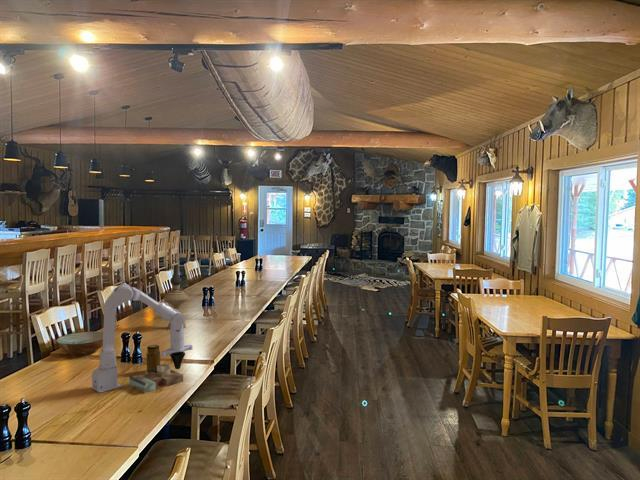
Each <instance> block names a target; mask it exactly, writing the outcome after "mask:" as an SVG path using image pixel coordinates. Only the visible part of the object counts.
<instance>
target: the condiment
mask: <svg viewBox="0 0 640 480" xmlns="http://www.w3.org/2000/svg"><path fill="white" fill-rule="evenodd" d="M146 348H147V349H146V351H147V352H146V370H145V372H144V374H148V373H152V372H154V373H156V374H157V366H158V365H161V351H160V345H158V344H149V345H148V346H147V347H146ZM144 374H143V375H144Z"/></svg>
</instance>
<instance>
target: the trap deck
mask: <svg viewBox="0 0 640 480" xmlns="http://www.w3.org/2000/svg"><path fill="white" fill-rule="evenodd" d="M128 377H129V378H128V379H129V381H128V382H129V385H128V386H130V387H131V388H133V389H136V390H138V391H140V392H142V393H143V394H146V393H150V392H153V391H157V390H160V389H163V388H165V387H169V386H173V385H175V384H179V383H182V382H184V374H182V373H179V372H177V371H175V370H173V369H170V375H167V376H163V377H161V376H159V375H157V373H154V372H152V373H148V374H141V375H138V376H137V375H136V376H133V375H129V376H128Z"/></svg>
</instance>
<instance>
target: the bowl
mask: <svg viewBox="0 0 640 480" xmlns="http://www.w3.org/2000/svg"><path fill="white" fill-rule="evenodd" d="M55 342H56V344H57V345H58V346H59V347H60V348H61V349H62V350H63V351H64V352H66V353H68V354H70V355H72V356H73V355H74V356H85V354H87V355H91V354H93V353H95V352H96V351H98V350H99V349H102V345H103V331H96V330H95V331H81V332H74V333H73V332H72V333H70V334H68V333H67V334H65V335H62V336H60V337H58V338H56V339H55Z"/></svg>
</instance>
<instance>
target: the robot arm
mask: <svg viewBox="0 0 640 480" xmlns="http://www.w3.org/2000/svg"><path fill="white" fill-rule="evenodd" d="M130 300H132V301H138V302H139V301H140V302H141V303H143V304H145V305H147V306H148V307H150V308H151V309H153V310H154V313H155V314H156V315H158V316H159V317H161V318H163V319H164V320H165V321H169V323H170V322H171V329H169V331H170V332H169V334H170V343H169V344H170V348H168V349H165V350H162V351H160V355H161V357H166V356H170V358H171V360H172V362H173V366H174V369H176V370H180V369H181V366H182V362H183V360H184V357H185V356H186V351H191V350H193V345H192V344H186V345H185V340H184V339H185V338H184V337H185V336H184V334H185V331H184V330H185V328H183V323H185V317H184V315H183V314H182V312H181V311H180V312H181V313H180V312H179V311H177V309H174V307H172V306H170V304H169V303H167V302H158V301H156V300H155V299H154V298H152V297H150V296H149V295H147V294H146V293H145V292H143V291H141V290H139V289H138V288H136V287H133V286H131V285H130V284H127V283H121V284H119V285H118V286H116V287H115V288H114V289H113V290H112V292H111V293H110V295H109V296H108V297H107V298H106V299H105V302H104V309H103V311H104V313H103V314H104V315H103V331H102V332H103V345H102V347H101V351H100V353H99V356H98V357H99V365H98V367H97V368H96V369H94V370H92V372H91V384H92V385H91V389H93V390H94V391H96V392H97V393H101V394H102V393H104V392H108V391H111V390H114V389H118V388H121V387H122V384H119V382H118V364H117V357H116V351H115V339H116V321H117V319H116V317H117V308H118V307H120V306H121V305H122V304H124V303H127V302H129V301H130Z"/></svg>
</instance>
